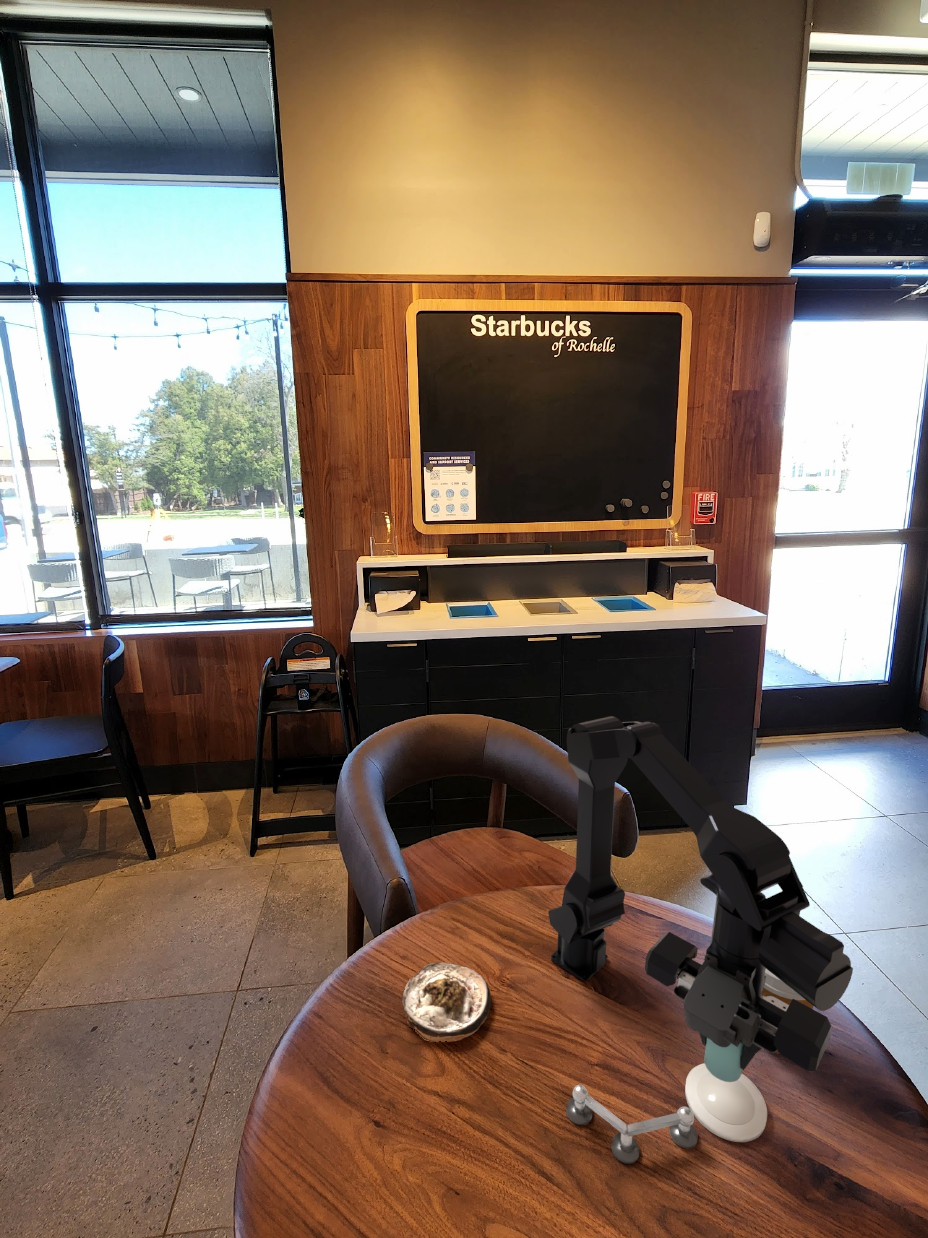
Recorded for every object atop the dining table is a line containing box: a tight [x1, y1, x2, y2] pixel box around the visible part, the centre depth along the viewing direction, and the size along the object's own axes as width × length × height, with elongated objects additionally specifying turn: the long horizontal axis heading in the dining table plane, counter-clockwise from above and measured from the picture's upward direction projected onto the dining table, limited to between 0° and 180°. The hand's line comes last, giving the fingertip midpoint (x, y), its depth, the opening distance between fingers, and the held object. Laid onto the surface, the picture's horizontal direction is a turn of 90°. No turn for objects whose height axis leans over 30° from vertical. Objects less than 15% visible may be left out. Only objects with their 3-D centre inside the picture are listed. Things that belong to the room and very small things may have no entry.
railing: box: [566, 1084, 698, 1165], centre depth 72 cm, size 13×9×4 cm
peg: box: [703, 1038, 745, 1082], centre depth 72 cm, size 4×4×7 cm
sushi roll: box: [401, 962, 492, 1043], centre depth 88 cm, size 15×15×4 cm
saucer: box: [684, 1062, 768, 1143], centre depth 75 cm, size 9×9×1 cm
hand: (724, 1054), depth 72 cm, fingers closed on peg, 4 cm apart
